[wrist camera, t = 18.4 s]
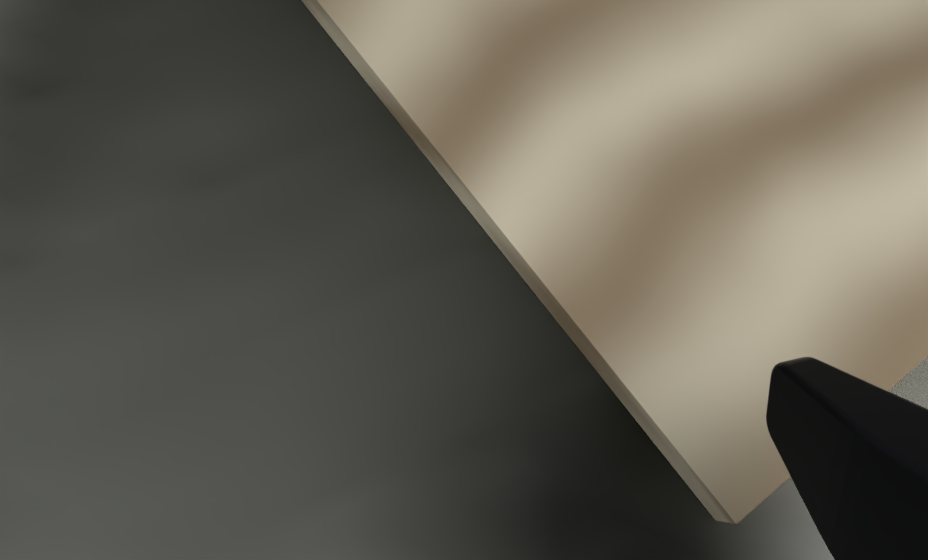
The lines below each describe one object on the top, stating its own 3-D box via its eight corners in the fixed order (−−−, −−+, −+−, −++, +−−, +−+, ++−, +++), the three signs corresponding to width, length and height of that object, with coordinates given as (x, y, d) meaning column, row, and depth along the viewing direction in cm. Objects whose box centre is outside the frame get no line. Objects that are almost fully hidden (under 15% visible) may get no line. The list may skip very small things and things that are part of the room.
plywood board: (1111, 175, 25) (1154, 157, 24) (715, 520, 22) (736, 524, 21) (589, -372, 29) (598, -417, 27) (188, -141, 26) (175, -178, 24)
